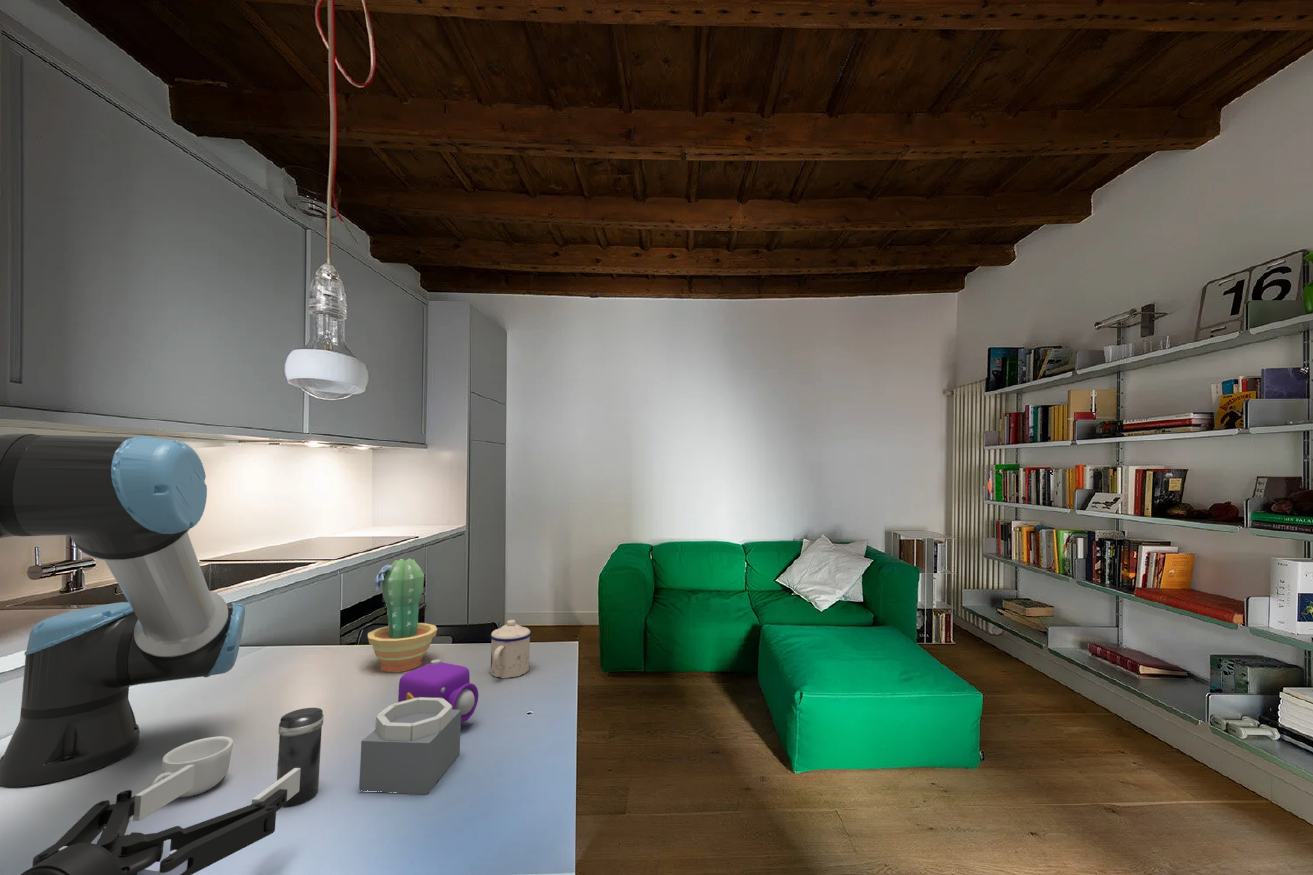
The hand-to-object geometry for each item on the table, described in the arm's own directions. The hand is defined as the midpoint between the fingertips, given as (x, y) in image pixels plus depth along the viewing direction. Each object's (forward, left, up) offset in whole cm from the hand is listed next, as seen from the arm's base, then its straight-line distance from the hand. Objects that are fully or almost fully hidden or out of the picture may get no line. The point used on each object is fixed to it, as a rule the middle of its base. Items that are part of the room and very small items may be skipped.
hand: (243, 777), depth 65 cm
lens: (0, +10, -8) cm, 13 cm away
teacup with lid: (+14, +58, -8) cm, 60 cm away
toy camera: (+10, +33, -8) cm, 35 cm away
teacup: (-16, +10, -8) cm, 21 cm away
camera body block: (+13, +17, -8) cm, 23 cm away
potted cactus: (-13, +62, -8) cm, 64 cm away
